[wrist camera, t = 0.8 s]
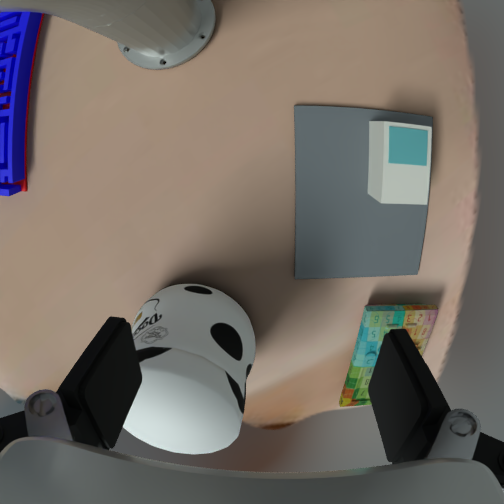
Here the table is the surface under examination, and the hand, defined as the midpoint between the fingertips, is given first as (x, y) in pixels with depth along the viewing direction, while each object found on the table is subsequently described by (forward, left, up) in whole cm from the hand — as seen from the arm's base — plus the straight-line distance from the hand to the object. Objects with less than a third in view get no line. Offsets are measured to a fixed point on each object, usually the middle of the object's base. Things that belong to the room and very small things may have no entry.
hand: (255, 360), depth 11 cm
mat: (+1, +13, -29) cm, 32 cm away
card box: (-4, +16, -29) cm, 33 cm away
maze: (-20, -48, -30) cm, 60 cm away
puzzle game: (+26, +19, -30) cm, 44 cm away
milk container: (+20, -10, -30) cm, 37 cm away
